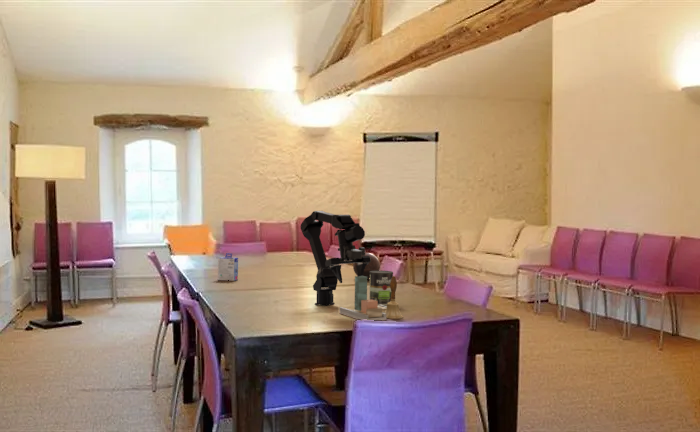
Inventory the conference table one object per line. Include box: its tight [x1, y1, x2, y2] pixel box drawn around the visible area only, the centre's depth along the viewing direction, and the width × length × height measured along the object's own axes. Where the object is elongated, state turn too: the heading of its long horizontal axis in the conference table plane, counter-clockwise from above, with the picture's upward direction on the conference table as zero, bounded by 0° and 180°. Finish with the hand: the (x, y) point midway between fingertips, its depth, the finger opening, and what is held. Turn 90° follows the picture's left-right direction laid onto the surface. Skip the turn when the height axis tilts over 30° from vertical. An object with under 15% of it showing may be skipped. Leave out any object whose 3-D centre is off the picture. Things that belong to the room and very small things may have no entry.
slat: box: [352, 275, 382, 318], centre depth 262 cm, size 12×6×14 cm, turn 30°
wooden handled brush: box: [385, 275, 404, 320], centre depth 265 cm, size 8×8×16 cm
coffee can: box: [368, 270, 394, 306], centre depth 296 cm, size 10×10×14 cm
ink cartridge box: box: [217, 252, 239, 282], centre depth 368 cm, size 10×6×14 cm, turn 77°
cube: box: [361, 299, 379, 313], centre depth 260 cm, size 4×4×4 cm
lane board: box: [338, 305, 387, 321], centre depth 267 cm, size 20×19×2 cm
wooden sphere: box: [352, 252, 381, 280], centre depth 379 cm, size 15×15×15 cm
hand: (351, 282), depth 276 cm, fingers open, 9 cm apart
